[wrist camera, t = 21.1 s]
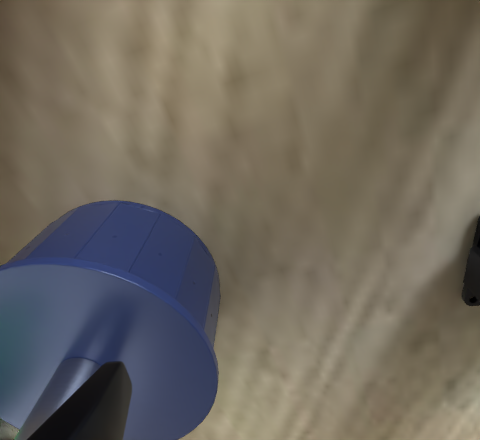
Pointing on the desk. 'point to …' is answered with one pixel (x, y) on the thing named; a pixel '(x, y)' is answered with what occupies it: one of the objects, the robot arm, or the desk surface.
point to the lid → (100, 346)
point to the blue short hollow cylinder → (138, 251)
